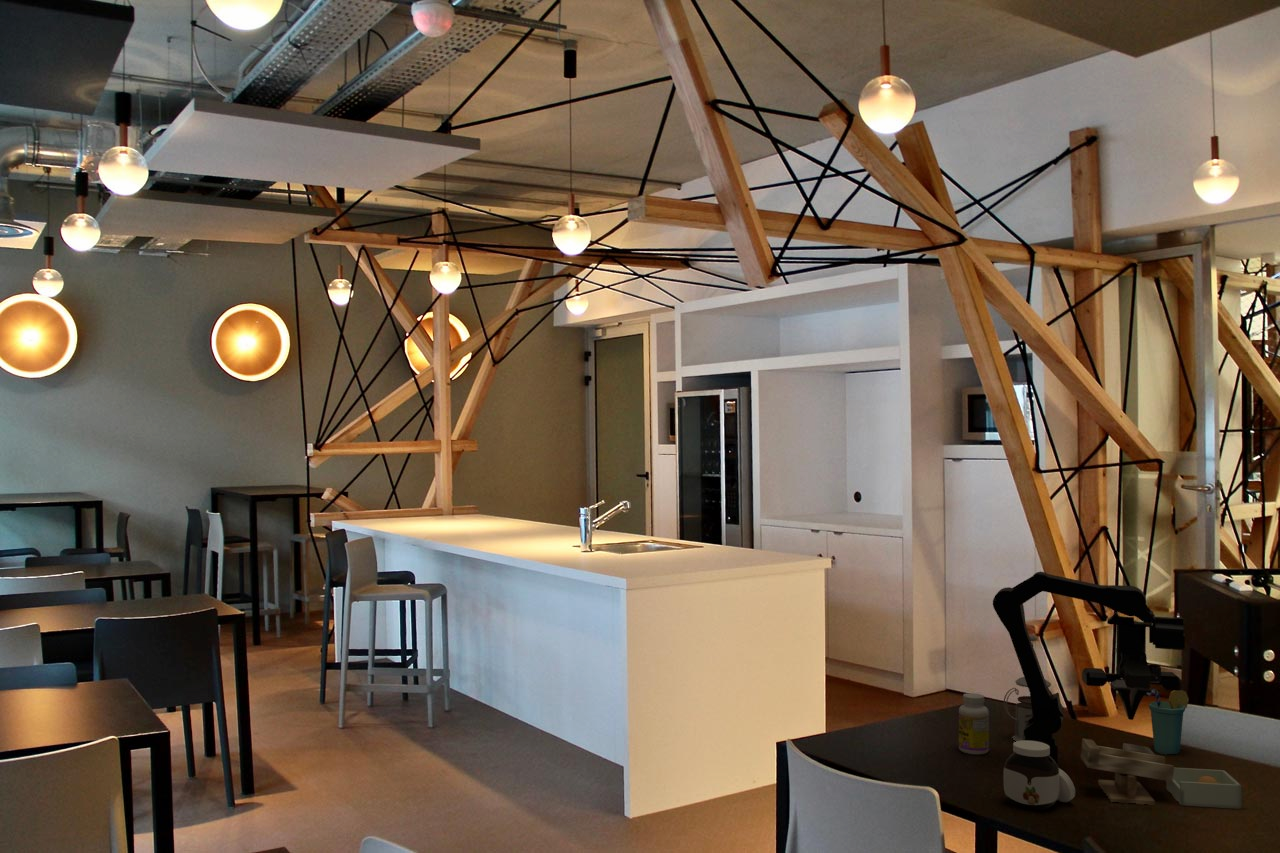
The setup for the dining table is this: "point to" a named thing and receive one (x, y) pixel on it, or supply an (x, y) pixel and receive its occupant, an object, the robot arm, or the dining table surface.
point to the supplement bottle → (973, 725)
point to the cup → (1168, 721)
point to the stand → (1126, 790)
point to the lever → (1126, 760)
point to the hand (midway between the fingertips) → (1130, 719)
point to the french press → (1022, 713)
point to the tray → (1205, 788)
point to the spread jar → (1035, 777)
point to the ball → (1207, 780)
